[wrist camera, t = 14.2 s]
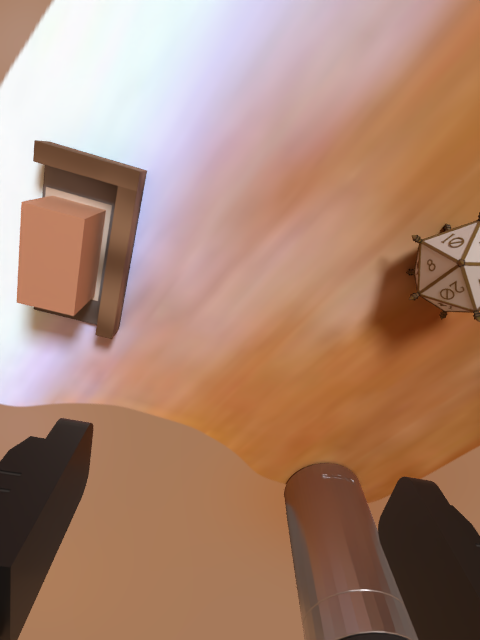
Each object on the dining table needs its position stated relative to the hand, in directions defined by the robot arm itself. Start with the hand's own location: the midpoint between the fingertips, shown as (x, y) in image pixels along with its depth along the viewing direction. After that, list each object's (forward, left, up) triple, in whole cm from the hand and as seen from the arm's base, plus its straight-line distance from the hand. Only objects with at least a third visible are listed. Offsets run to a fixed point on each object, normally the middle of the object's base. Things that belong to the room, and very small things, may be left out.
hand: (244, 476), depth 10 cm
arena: (-3, +13, -27) cm, 30 cm away
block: (-4, +14, -26) cm, 30 cm away
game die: (+4, -18, -27) cm, 33 cm away
